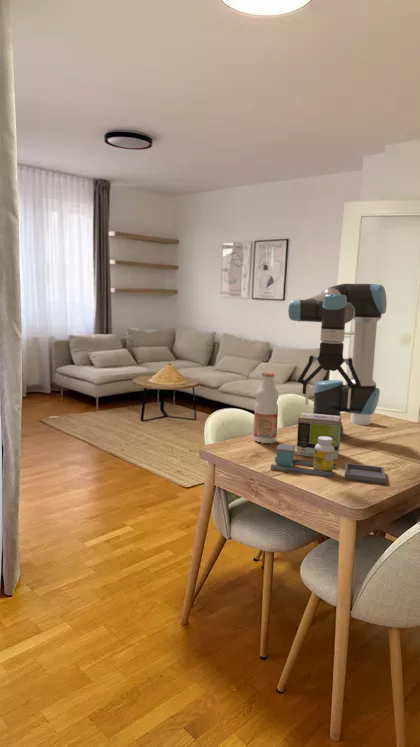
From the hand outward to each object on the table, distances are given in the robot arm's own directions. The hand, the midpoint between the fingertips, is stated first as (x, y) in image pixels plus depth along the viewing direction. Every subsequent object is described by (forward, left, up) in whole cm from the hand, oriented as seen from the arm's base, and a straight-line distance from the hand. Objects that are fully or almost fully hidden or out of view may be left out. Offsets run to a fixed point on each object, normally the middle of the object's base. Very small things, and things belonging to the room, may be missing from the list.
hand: (327, 405), depth 168 cm
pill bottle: (0, 0, -23) cm, 23 cm away
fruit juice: (-29, -25, -23) cm, 45 cm away
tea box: (-19, -3, -23) cm, 30 cm away
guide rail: (0, -6, -23) cm, 24 cm away
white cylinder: (-79, +13, -23) cm, 83 cm away
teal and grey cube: (0, -13, -23) cm, 26 cm away
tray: (0, +14, -23) cm, 26 cm away
